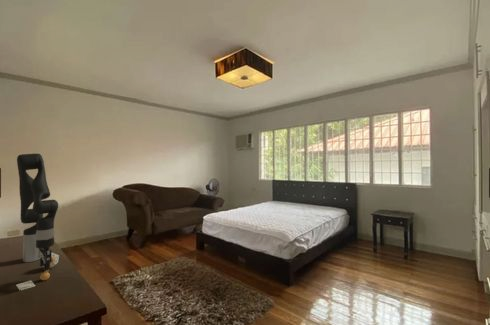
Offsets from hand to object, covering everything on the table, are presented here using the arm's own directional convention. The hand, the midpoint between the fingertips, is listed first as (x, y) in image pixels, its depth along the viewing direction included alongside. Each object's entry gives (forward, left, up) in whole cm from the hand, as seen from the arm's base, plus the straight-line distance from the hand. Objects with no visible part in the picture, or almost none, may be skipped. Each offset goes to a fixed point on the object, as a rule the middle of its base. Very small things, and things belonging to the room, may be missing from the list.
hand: (44, 267), depth 126 cm
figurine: (0, +1, -7) cm, 7 cm away
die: (-16, +6, -7) cm, 18 cm away
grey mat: (0, -7, -7) cm, 10 cm away
